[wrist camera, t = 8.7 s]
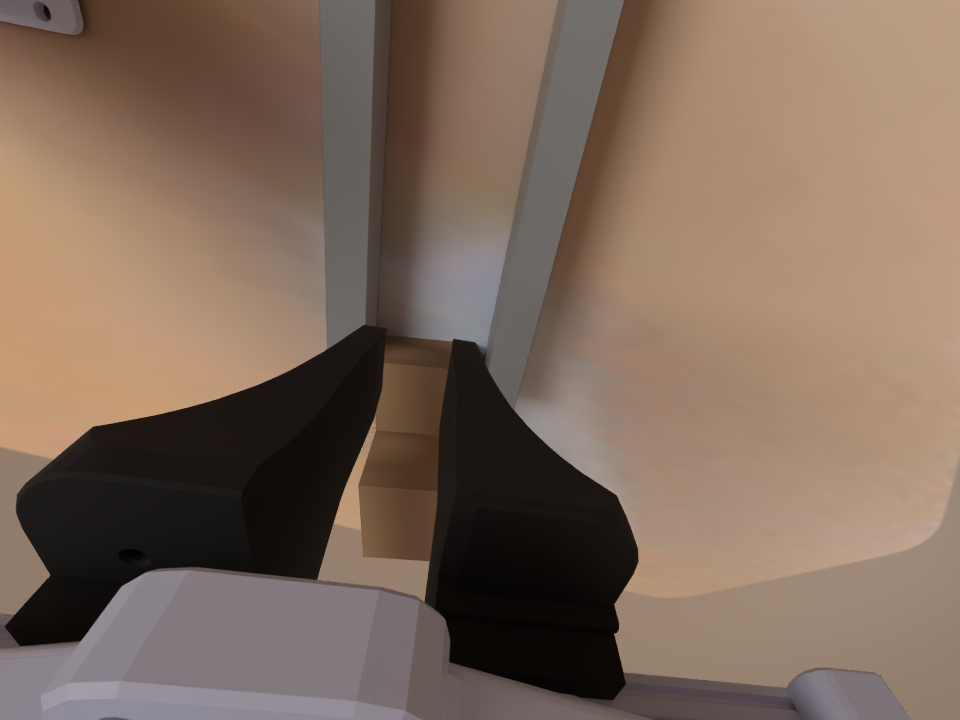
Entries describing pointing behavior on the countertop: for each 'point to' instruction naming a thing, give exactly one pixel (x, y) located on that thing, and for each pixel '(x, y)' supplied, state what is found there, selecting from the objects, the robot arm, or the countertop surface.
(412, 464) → the block
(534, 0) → the countertop surface
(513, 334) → the channel
